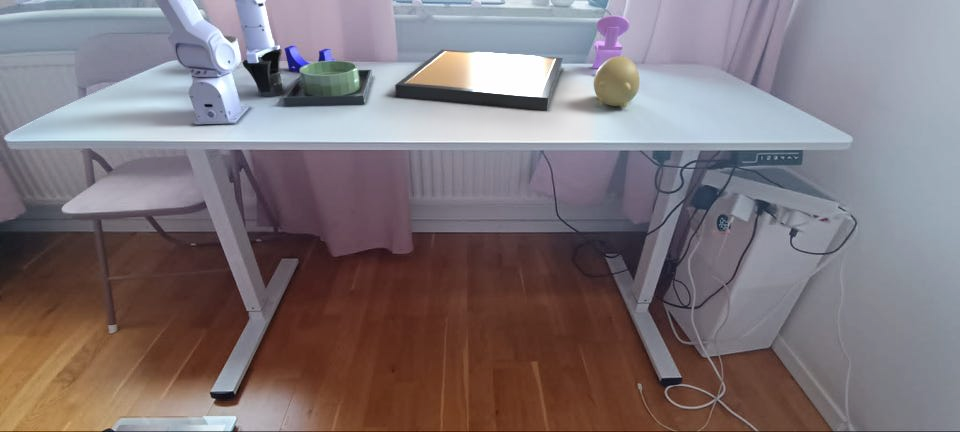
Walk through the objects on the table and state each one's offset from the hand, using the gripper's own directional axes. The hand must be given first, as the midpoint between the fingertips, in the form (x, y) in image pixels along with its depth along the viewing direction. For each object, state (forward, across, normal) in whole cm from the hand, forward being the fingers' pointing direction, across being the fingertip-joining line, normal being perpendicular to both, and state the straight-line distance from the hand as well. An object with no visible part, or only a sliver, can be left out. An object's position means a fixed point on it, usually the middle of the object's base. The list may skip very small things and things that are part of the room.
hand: (270, 86), depth 108 cm
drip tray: (+2, +1, -14) cm, 14 cm away
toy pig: (+2, -14, -79) cm, 80 cm away
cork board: (+2, +6, -52) cm, 53 cm away
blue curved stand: (+2, +19, -6) cm, 20 cm away
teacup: (+2, +22, +20) cm, 30 cm away
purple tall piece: (+2, +12, -86) cm, 87 cm away
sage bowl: (+2, +1, -14) cm, 14 cm away
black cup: (+2, 0, 0) cm, 2 cm away
